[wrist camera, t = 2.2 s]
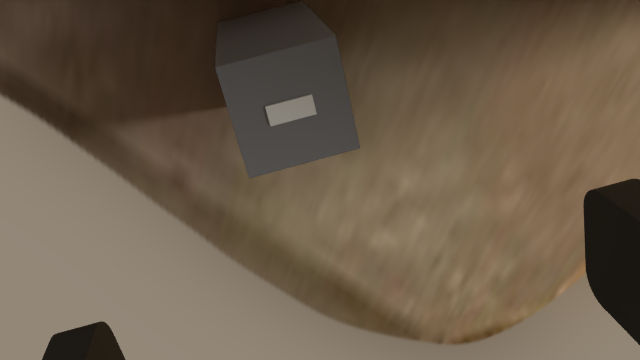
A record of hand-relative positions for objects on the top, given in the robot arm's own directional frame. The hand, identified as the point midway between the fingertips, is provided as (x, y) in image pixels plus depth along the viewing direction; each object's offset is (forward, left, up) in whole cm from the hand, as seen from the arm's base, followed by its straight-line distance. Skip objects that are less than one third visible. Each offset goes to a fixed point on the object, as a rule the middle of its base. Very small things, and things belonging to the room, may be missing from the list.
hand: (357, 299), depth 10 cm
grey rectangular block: (0, 0, -20) cm, 20 cm away
